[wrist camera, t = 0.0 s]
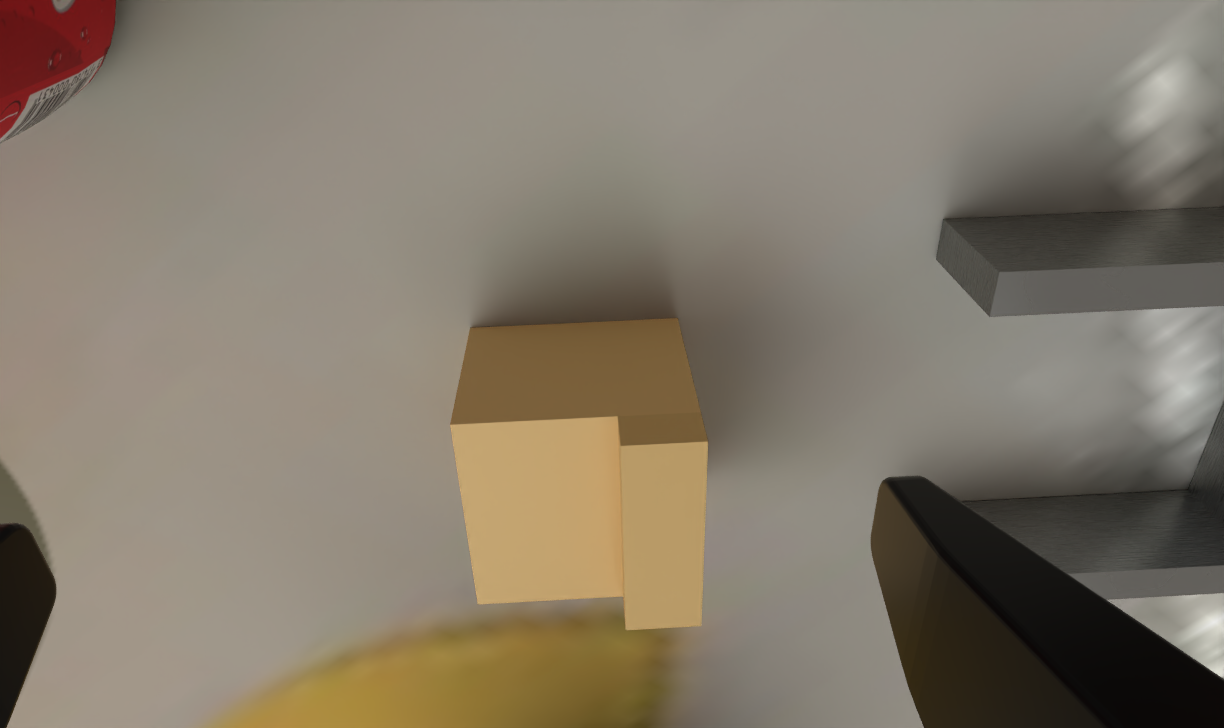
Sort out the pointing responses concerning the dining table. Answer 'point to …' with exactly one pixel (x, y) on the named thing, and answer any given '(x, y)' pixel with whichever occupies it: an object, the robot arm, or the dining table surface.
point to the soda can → (48, 55)
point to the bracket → (1093, 282)
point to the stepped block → (584, 467)
